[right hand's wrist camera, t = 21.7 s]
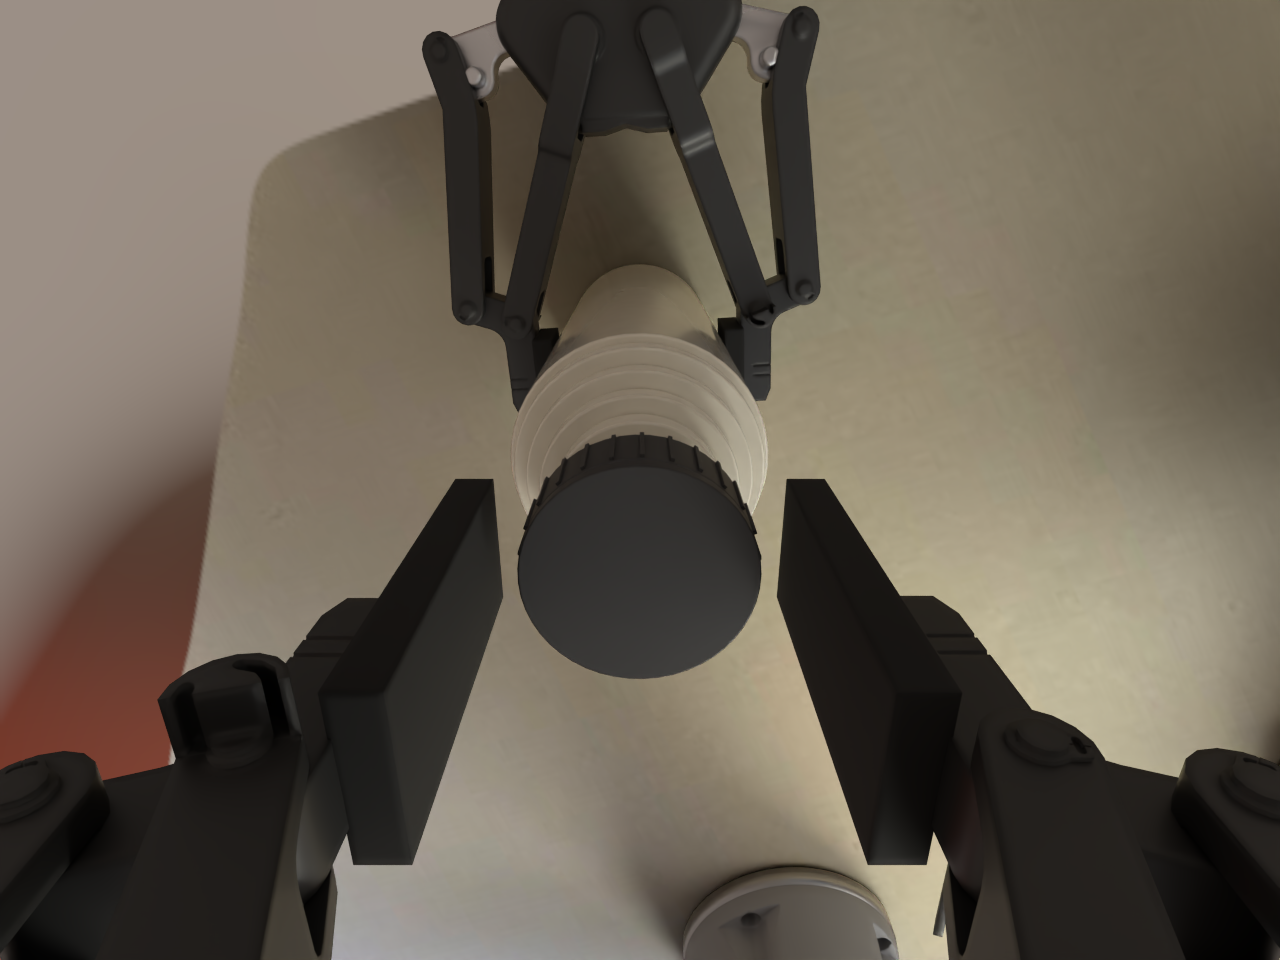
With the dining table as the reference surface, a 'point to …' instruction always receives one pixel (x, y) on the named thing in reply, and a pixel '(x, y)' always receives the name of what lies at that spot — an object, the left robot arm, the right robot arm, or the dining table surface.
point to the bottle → (639, 383)
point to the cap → (639, 558)
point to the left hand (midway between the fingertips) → (646, 476)
